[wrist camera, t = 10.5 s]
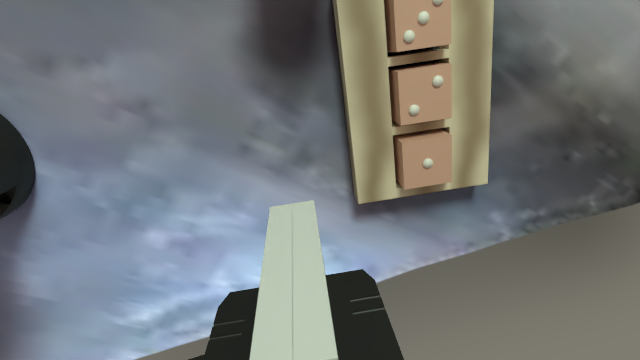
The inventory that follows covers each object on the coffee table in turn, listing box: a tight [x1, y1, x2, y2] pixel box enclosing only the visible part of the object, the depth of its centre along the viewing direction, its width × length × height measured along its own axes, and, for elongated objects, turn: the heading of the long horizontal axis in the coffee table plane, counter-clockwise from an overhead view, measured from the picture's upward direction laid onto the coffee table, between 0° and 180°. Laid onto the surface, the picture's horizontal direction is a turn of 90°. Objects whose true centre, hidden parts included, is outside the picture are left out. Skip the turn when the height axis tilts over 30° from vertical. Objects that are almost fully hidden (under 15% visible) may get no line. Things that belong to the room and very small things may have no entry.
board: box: [333, 0, 494, 204], centre depth 40 cm, size 16×24×3 cm, turn 8°
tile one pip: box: [393, 128, 452, 190], centre depth 41 cm, size 6×6×5 cm
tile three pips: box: [384, 0, 451, 52], centre depth 36 cm, size 6×6×5 cm
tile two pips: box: [388, 63, 452, 126], centre depth 39 cm, size 6×6×5 cm
